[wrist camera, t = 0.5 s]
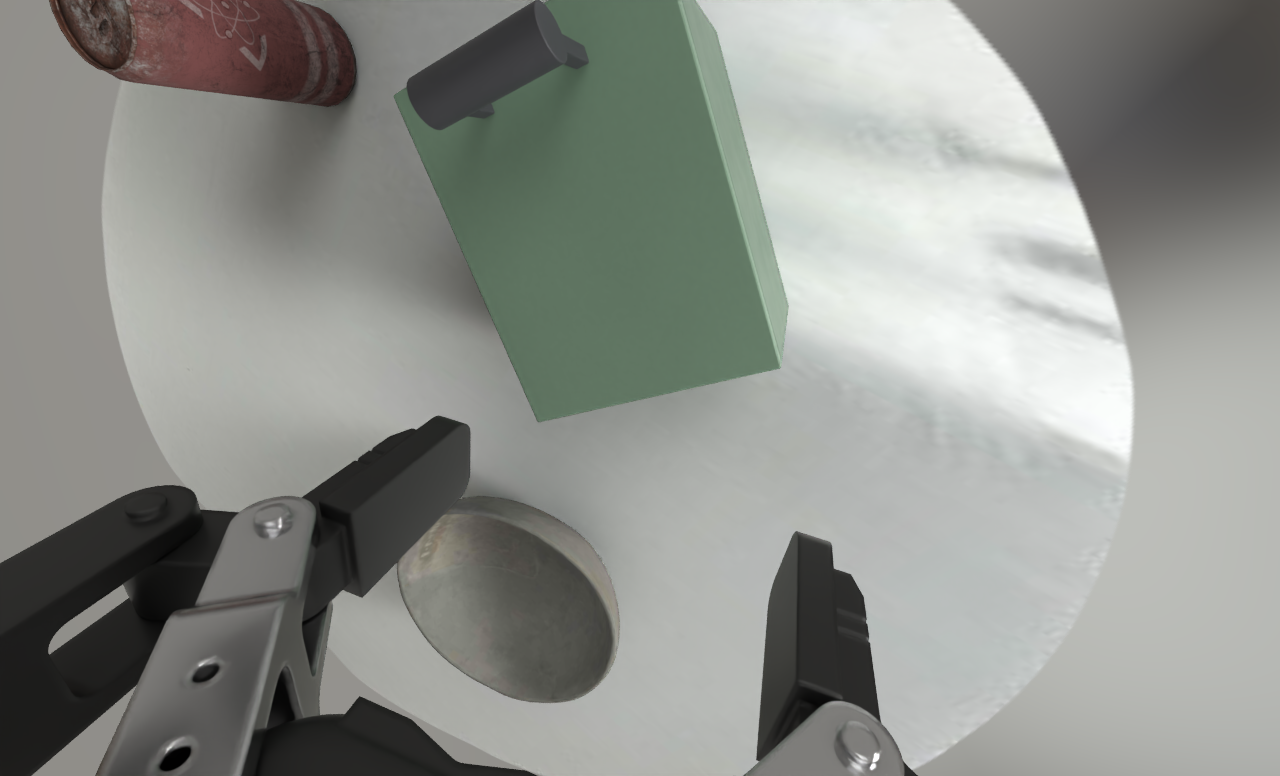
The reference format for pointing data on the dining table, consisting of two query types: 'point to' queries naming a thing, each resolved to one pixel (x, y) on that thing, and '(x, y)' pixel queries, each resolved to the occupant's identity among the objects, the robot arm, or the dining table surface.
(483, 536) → the bowl
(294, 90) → the can
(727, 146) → the chest
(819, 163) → the dining table surface
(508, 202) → the lid
